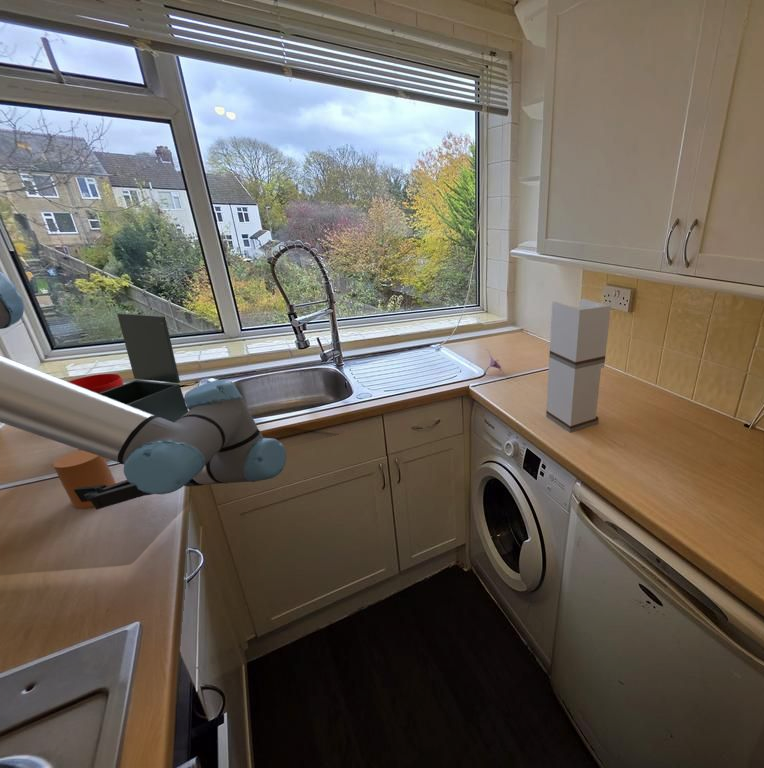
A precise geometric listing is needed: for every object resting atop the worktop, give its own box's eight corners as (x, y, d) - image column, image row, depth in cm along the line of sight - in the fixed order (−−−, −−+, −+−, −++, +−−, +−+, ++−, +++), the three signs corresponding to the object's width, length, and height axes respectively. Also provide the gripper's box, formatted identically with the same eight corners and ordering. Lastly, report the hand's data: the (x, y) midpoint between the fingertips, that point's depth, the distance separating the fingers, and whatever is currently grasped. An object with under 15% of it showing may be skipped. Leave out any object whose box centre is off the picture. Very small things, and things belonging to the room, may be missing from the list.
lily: (499, 384, 149) (511, 361, 148) (471, 370, 149) (482, 346, 148) (502, 382, 161) (513, 360, 160) (475, 368, 161) (486, 347, 160)
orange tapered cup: (63, 509, 82) (42, 468, 78) (91, 488, 89) (73, 449, 85) (101, 507, 83) (82, 466, 79) (127, 486, 89) (110, 447, 86)
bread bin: (127, 454, 101) (110, 412, 96) (81, 447, 103) (61, 406, 99) (191, 421, 117) (179, 384, 112) (150, 416, 119) (136, 379, 115)
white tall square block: (597, 423, 120) (610, 305, 106) (569, 432, 115) (579, 310, 101) (573, 408, 129) (582, 298, 115) (546, 416, 123) (552, 301, 110)
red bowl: (56, 432, 110) (40, 399, 106) (85, 407, 124) (72, 377, 121) (117, 423, 115) (104, 391, 111) (138, 400, 129) (127, 371, 126)
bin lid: (162, 316, 106) (165, 316, 107) (116, 313, 109) (120, 313, 109) (177, 383, 112) (180, 382, 113) (134, 378, 114) (137, 378, 115)
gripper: (152, 526, 67) (55, 532, 71) (259, 447, 90) (181, 455, 94) (129, 489, 64) (30, 497, 68) (245, 417, 87) (165, 427, 91)
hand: (117, 473), depth 81 cm, fingers open, 13 cm apart
